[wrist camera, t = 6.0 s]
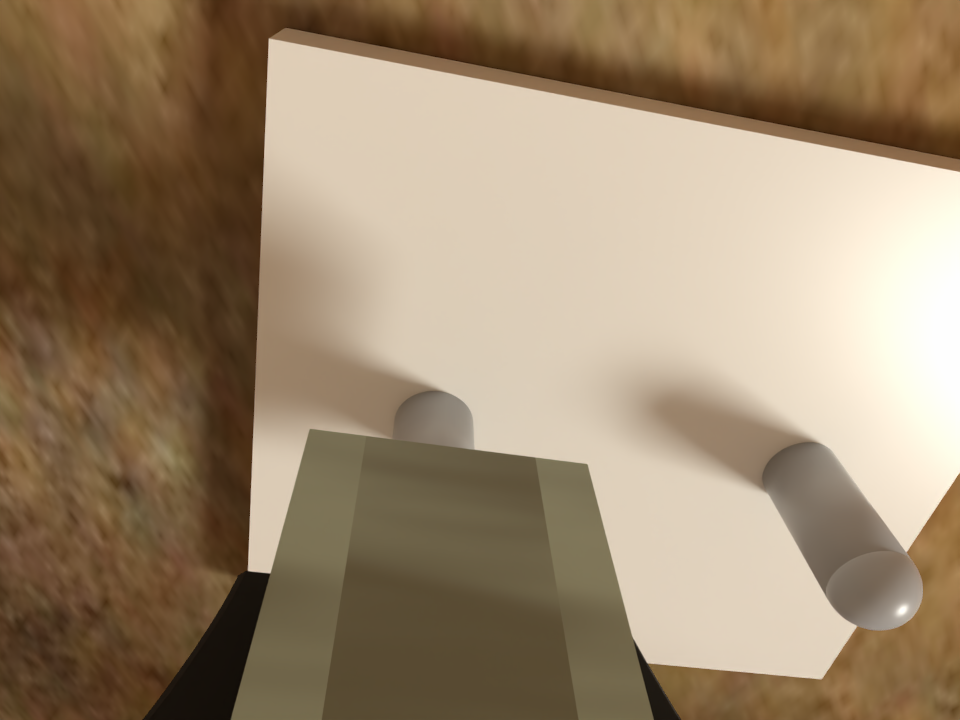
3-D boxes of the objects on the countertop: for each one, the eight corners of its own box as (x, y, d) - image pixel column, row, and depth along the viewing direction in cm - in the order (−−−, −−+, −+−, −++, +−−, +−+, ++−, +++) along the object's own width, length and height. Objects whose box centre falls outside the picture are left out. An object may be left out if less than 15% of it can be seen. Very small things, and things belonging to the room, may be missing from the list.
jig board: (801, 637, 23) (898, 835, 18) (258, 583, 21) (198, 791, 16) (1081, 183, 16) (1379, 305, 11) (285, 27, 14) (190, 88, 9)
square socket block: (527, 642, 15) (571, 1038, 9) (292, 621, 14) (202, 1030, 9) (587, 463, 12) (689, 857, 7) (309, 429, 12) (201, 829, 6)
